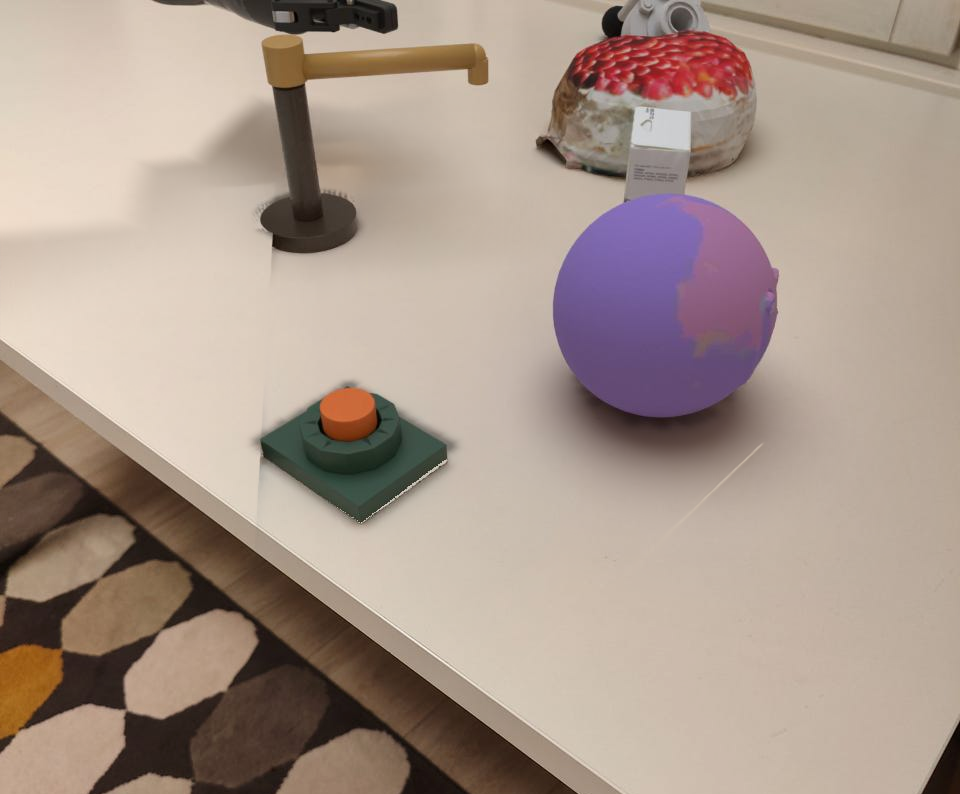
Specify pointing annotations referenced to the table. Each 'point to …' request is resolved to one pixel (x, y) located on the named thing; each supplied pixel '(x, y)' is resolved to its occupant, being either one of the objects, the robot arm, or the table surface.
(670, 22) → the valve
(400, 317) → the table surface
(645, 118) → the ink box
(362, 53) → the spout
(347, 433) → the button
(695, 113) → the cake
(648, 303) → the decorative ball
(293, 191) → the faucet base
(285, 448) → the button box
